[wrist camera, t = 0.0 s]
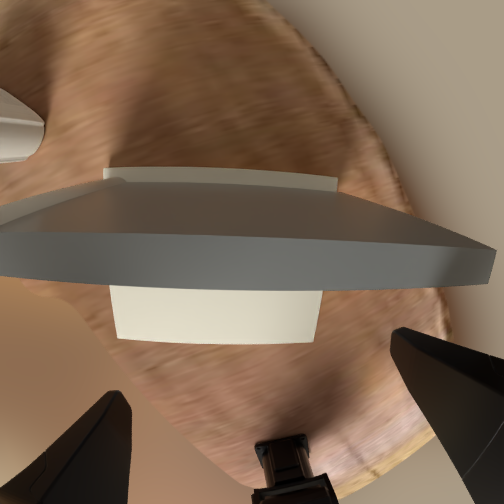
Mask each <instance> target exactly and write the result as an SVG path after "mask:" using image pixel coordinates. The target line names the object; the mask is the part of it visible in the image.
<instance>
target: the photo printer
mask: <svg viewBox="0 0 504 504" xmlns="http://www.w3.org/2000/svg"><path fill="white" fill-rule="evenodd" d="M44 124H45V123H44V121H43V120H42V119H41V117H40V116H39V115H38V114H36V113H35V112H34V111H33V110H31V109H30V108H29V107H27V106H26V105H25V104H23V103H22V102H21V101H19V100H18V99H17V98H15V97H14V96H12V95H11V94H9V93H8V92H6V91H5V90H3V89H1V88H0V163H7V162H17V161H24V160H27V159H28V156H30V155H32V154H34V153H35V152H36V150H37V149H38V148H39V146H40V144H41V142H42V139H43V135H44V127H43V125H44Z"/></svg>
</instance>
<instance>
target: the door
mask: <svg viewBox="0 0 504 504" xmlns="http://www.w3.org/2000/svg"><path fill="white" fill-rule="evenodd" d="M495 255H496V250H495V249H493V248H491V247H489V246H486V245H484V244H482V243H480V242H477V241H475V240H473V239H470V238H468V237H466V236H463V235H460V234H458V233H456V232H453V231H451V230H448V229H446V228H443V227H441V226H438V225H436V224H433V223H430V222H428V221H425V220H422V219H420V218H417V217H414V216H412V215H409V214H406V213H403V212H400V211H397V210H395V209H392V208H389V207H386V206H383V205H380V204H377V203H374V202H371V201H368V200H364V199H361V198H358V197H355V196H352V195H348V194H345V193H342V192H332V191H323V190H312V189H301V188H289V187H276V186H261V185H244V184H223V183H191V182H126V181H125V180H124V179H123V178H121V177H112V178H107V179H102V180H97V181H93V182H88V183H84V184H79V185H75V186H71V187H67V188H62V189H58V190H55V191H51V192H47V193H43V194H39V195H36V196H32V197H29V198H25V199H22V200H19V201H15V202H12V203H9V204H6V205H2V206H0V276H7V277H16V278H26V279H37V280H48V281H59V282H71V283H85V284H99V285H114V286H132V287H151V288H174V289H202V290H246V291H339V290H382V289H409V288H431V287H449V286H465V285H479V284H488V281H489V278H490V274H491V271H492V267H493V263H494V259H495Z"/></svg>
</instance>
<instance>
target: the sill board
mask: <svg viewBox="0 0 504 504" xmlns="http://www.w3.org/2000/svg"><path fill="white" fill-rule="evenodd" d="M112 177H121V178H123V179H124V180H125V181H126V182H191V183H223V184H244V185H261V186H276V187H289V188H301V189H312V190H323V191H332V192H337V183H338V178H336V177H329V176H321V175H311V174H302V173H291V172H280V171H267V170H253V169H235V168H213V167H114V168H104V170H103V179H107V178H112ZM110 293H111V300H112V307H113V314H114V320H115V326H116V331H117V337H118V338H120V339H131V340H143V341H157V342H174V343H198V344H280V343H304V342H313V340H314V335H315V330H316V325H317V320H318V315H319V309H320V304H321V298H322V293H323V291H246V290H202V289H174V288H151V287H132V286H114V285H110Z"/></svg>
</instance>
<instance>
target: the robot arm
mask: <svg viewBox="0 0 504 504" xmlns="http://www.w3.org/2000/svg"><path fill="white" fill-rule="evenodd" d="M390 353H391V356H392V359H393V360H394V362H395V364H396V366H397V368H398V370H399V372H400V374H401V376H402V379H403V381H404V383H405V385H406V387H407V389H408V390H409V392H410V394H411V395H412V397H413V398H414V400H415V402H416V403H417V405H418V406H419V408H420V409H421V411H422V413H423V414H424V416H425V417H426V419H427V421H428V422H429V424H430V426H431V427H432V429H433V430H434V432H435V434H436V435H437V437H438V439H439V440H440V442H441V444H442V445H443V447H444V449H445V450H446V452H447V454H448V456H449V457H450V459H451V461H452V462H453V464H454V466H455V468H456V469H457V471H458V473H459V475H460V477H461V478H462V481H463V482H464V484H465V486H466V488H467V490H468V492H469V493H470V495H471V497H472V499H473V501H474V503H475V504H504V359H501V358H498V357H494V356H491V355H490V356H489V355H488V354H485V353H482V352H479V351H475V350H472V349H469V348H466V347H463V346H460V345H457V344H454V343H451V342H448V341H445V340H442V339H439V338H436V337H433V336H430V335H427V334H424V333H421V332H418V331H415V330H412V329H409V328H406V327H401V328H398V329H395V330H393V331H392V334H391V344H390ZM254 448H255V451H256V454H257V456H258V459H259V461H260V464H261V466H262V468H263V469H264V474H265V479H266V484H267V488H262V489H254V494H252V495H251V498H252V504H339V503H338V500H337V497H336V494H335V492H334V489H333V487H332V485H331V483H330V480H329V478H328V476H327V473H323V474H322V475H319V476H315V477H314V476H313V472H312V469H311V466H310V463H309V460H308V458H309V451H308V443H307V437H306V435H305V434H302V435H298V436H294V437H290V438H286V439H281V440H277V441H272V442H268V443H263V444H258V445H255V446H254ZM131 452H132V410H131V407H130V405H129V404H128V402H127V400H126V399H125V397H124V396H123V394H122V393H121V392H120V391H119V390H113V391H108V392H107V393H106V394H104V395H103V396H102V397H101V398H100V399H99V400H98V401H97V402H96V403H95V404H94V405H93V406H92V407H91V408H90V409H89V410H88V411H87V412H85V414H83V415H82V416H81V417H80V418H79V419H78V420H77V421H76V422H75V423H74V424H73V425H72V426H71V427H70V428H69V429H68V430H66V431H65V432H64V434H62V435H61V436H60V437H59V438H58V439H57V440H56V441H55V442H54V443H53V444H52V445H51V446H49V447H48V448H47V449H46V451H45V452H43V453H42V454H41V455H40V456H39V457H38V458H37V459H36V460H35V461H33V462H32V463H31V464H30V465H29V466H28V467H27V468H25V469H24V470H23V471H21V472H20V473H19V474H18V475H16V476H15V477H14V478H12V479H11V480H10V481H9V482H7V483H6V484H5V485H3V486H2V487H0V504H127V502H128V486H129V473H130V462H131Z"/></svg>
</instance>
